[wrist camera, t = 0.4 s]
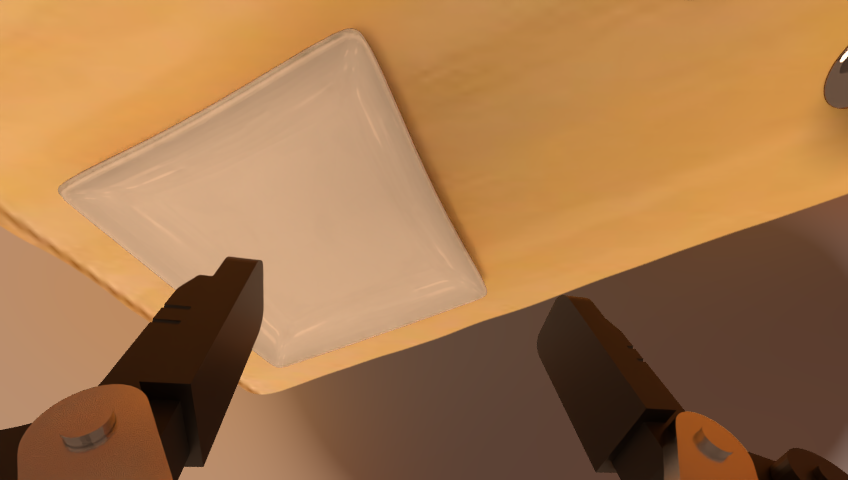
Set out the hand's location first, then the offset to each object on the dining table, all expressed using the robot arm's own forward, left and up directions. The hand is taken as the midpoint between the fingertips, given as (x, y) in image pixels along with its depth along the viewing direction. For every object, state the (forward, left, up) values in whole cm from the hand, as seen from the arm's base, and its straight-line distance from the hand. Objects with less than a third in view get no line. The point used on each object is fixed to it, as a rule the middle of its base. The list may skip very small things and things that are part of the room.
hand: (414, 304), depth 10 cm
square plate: (+16, +1, -23) cm, 28 cm away
